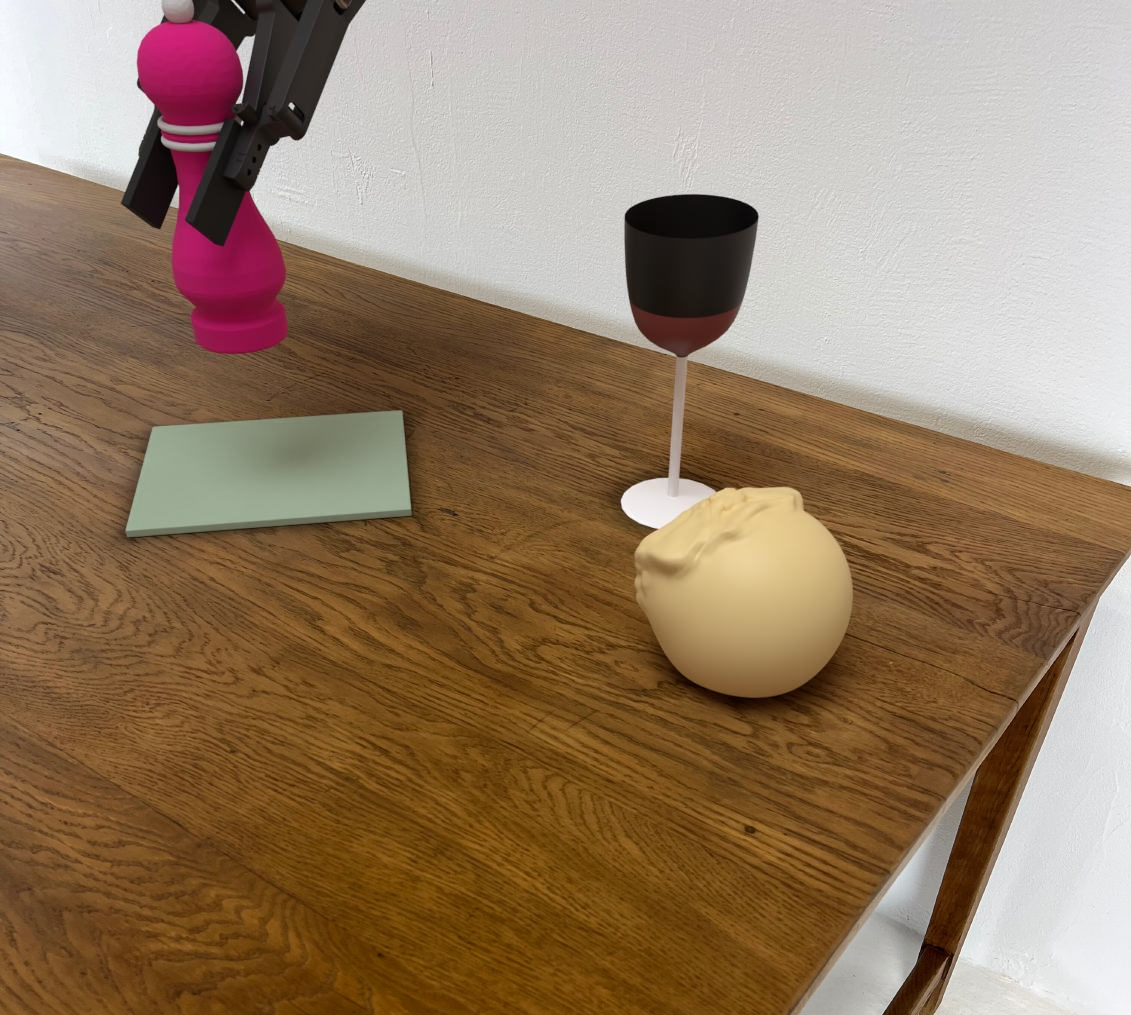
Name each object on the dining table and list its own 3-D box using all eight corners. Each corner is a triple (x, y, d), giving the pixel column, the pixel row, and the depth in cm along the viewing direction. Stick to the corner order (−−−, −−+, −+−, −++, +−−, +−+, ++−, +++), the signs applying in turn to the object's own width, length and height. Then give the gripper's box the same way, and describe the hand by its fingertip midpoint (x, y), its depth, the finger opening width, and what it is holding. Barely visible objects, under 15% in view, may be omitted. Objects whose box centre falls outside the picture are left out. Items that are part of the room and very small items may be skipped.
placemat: (127, 537, 80) (125, 530, 80) (154, 433, 92) (152, 426, 92) (411, 516, 82) (411, 508, 82) (402, 416, 94) (402, 409, 94)
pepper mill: (264, 307, 82) (204, -27, 68) (315, 339, 78) (262, -11, 64) (170, 333, 78) (87, -13, 65) (218, 367, 74) (140, 5, 61)
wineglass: (751, 498, 84) (785, 211, 71) (678, 546, 79) (700, 248, 66) (666, 463, 88) (683, 185, 75) (592, 507, 83) (596, 218, 70)
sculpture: (729, 583, 76) (745, 433, 69) (875, 666, 69) (911, 509, 62) (603, 653, 70) (606, 497, 63) (749, 750, 64) (772, 589, 56)
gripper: (464, -76, 69) (316, 285, 70) (250, -96, 76) (119, 230, 77) (398, -184, 62) (235, 218, 63) (170, -195, 70) (28, 165, 71)
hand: (172, 224), depth 70 cm, fingers closed on pepper mill, 5 cm apart
